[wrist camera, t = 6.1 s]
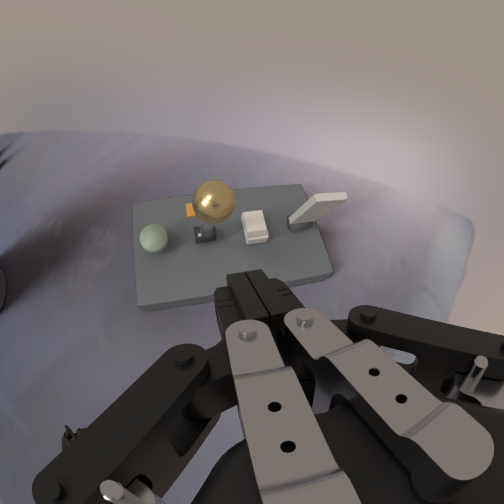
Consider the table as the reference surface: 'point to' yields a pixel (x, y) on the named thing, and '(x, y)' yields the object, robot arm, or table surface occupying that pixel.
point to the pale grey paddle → (314, 210)
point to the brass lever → (212, 208)
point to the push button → (154, 239)
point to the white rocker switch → (254, 227)
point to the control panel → (223, 248)
